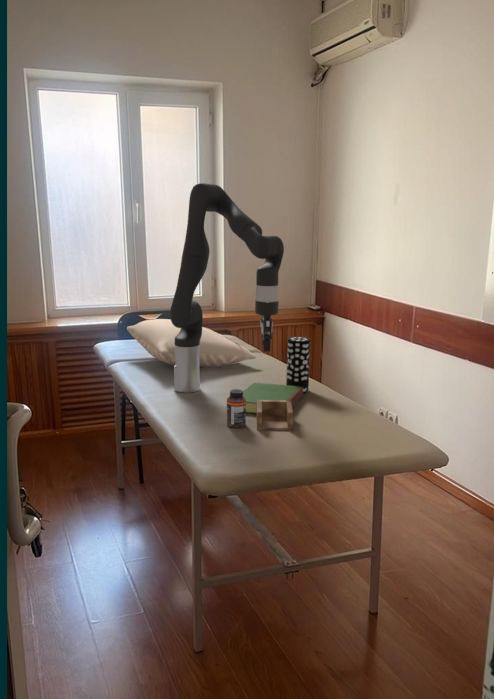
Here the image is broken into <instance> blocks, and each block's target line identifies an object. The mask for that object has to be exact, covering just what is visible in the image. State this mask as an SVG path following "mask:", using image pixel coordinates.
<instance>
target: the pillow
mask: <svg viewBox="0 0 494 699" xmlns="http://www.w3.org/2000/svg"><path fill="white" fill-rule="evenodd" d="M126 330H127V332H128V333H129V334H130V335H131V336H132V337H133V338H134V339H135V340H136V342H138V343H139V345H140V346H142V348H143V349H145V351H146V352H147V353H149V355H151V356H152V357H153V358H155V359H157V360H159V361H161V362H163V363H166V364H169V365H172V366H175V337H176V336H177V335H178V333H179V332H180V330H181V328H177V327H175V326H174V325H173V324H172V322H171V319H168V318H155V319H146V320H143V321H140V322H137V323H136V324H134V325H129V326H127V327H126ZM255 359H257V356H256V355H255V354H253V353H252V352H251V351H249V350H248V349H247V348H245V347H243V346H242V345H240V344H238V343H237V342H235V341H233V340H232V339H230V338H228V337H227V336H224V335H222V334H220V333H219V332H216V331H214V330H212V329H210V328H208V327H204V326H202V336H201V339H200V368H201V367H202V368H210V367H211V368H213V367H224V366H228V365H229V366H230V365H233V364H237V363H241V362H243V361H248V360H255Z"/></svg>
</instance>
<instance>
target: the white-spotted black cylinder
mask: <svg viewBox="0 0 494 699" xmlns="http://www.w3.org/2000/svg"><path fill="white" fill-rule="evenodd" d="M286 345H287V348H286V349H287V351H286V383H285V385H289V386H302V387H303V395H307V394H308V393H309V386H310V385H309V384H310V382H309V381H310V362H311V361H310V360H311V359H310V357H311V338H310V337H307V336H290V337H287V344H286Z"/></svg>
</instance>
